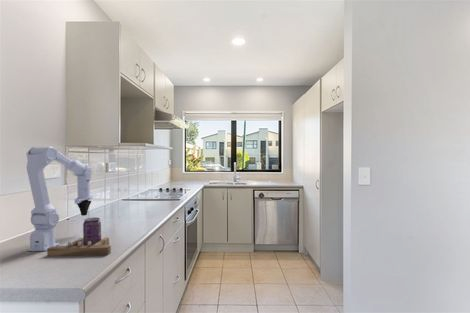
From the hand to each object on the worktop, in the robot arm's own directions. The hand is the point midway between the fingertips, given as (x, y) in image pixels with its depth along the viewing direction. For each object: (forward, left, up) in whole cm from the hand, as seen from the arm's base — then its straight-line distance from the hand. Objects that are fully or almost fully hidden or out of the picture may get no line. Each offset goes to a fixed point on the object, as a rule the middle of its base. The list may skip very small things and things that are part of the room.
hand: (84, 215), depth 150 cm
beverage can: (-21, -14, -10) cm, 27 cm away
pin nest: (-26, -14, -9) cm, 31 cm away
